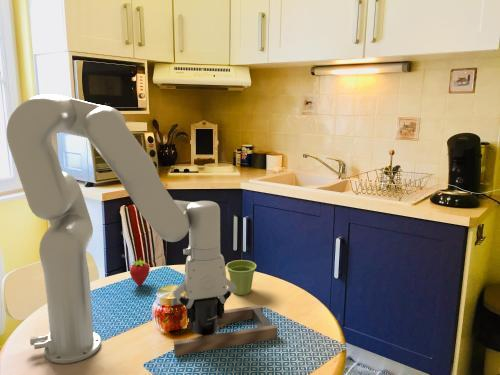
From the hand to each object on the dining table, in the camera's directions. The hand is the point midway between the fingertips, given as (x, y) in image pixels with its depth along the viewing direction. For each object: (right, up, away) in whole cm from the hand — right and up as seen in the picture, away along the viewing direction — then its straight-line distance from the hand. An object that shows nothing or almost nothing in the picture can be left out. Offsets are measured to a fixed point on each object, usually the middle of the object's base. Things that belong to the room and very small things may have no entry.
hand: (205, 317), depth 108 cm
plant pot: (+9, 0, +27) cm, 28 cm away
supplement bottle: (0, -3, +1) cm, 4 cm away
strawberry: (-24, +1, +29) cm, 38 cm away
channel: (+4, -5, +2) cm, 7 cm away
